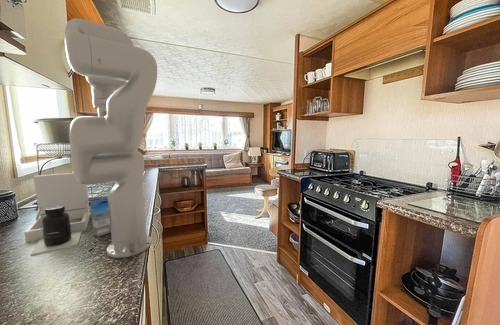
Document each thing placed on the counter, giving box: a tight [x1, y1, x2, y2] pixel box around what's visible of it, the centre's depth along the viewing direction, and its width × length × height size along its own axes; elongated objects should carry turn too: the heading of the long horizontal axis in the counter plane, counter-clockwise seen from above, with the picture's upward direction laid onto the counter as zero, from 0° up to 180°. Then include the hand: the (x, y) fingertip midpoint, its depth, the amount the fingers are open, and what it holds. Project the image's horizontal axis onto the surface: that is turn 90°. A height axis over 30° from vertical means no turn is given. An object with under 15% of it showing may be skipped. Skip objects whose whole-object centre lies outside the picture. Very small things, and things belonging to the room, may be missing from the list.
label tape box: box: [89, 197, 111, 238], centre depth 78 cm, size 9×4×12 cm, turn 143°
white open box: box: [24, 172, 91, 243], centre depth 82 cm, size 18×16×20 cm
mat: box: [30, 231, 83, 257], centre depth 71 cm, size 11×11×1 cm
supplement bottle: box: [41, 205, 71, 246], centre depth 70 cm, size 7×7×12 cm
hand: (108, 147), depth 87 cm, fingers open, 9 cm apart
